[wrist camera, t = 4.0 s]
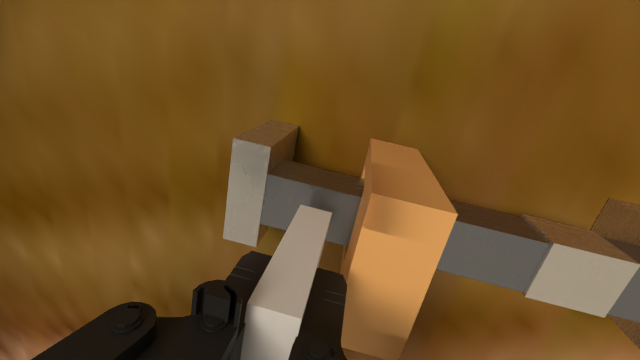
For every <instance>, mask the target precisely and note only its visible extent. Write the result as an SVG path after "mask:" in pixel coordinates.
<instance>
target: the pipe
mask: <svg viewBox="0 0 640 360" xmlns="http://www.w3.org/2000/svg"><path fill="white" fill-rule="evenodd" d="M298 129H299V126H297V125H292V124H288V123H284V122H280V121H275V120H270V121H268V122H266V123H264V124H262V125H260V126H258V127H256V128H254V129H251V130H249V131H247V132H245V133H243V134H241V135H239V136H237V137H235V138H233V145H232V155H231V165H230V175H229V184H228V194H227V204H226V214H225V223H224V233H223V239H227V240H231V241H235V242H238V243H242V244H246V245H250V246H253V247H256V246H257V245H258V243H259V242H260V240H261V239H262V237H263V236H264V234H265V233H266V231H267V230H268V228H269V227H270V226H271V227H275V228H278V229H282V230H286V231H287V229H288V227H289V225H290V223H291V222H292V220H293V218H294V216H295V214H296V212H297V211H298V209H299V207H300V205H304V206H308V207H312V208H316V209H320V210H324V211H327V212H331V213H332V215H331V219H330V223H329V228H328V232H327V236H326V240H325V241H328V242H332V243H336V244H340V245H344V246H347V247H348V245H349V242H350V238H351V234H352V231H353V227H354V223H355V220H356V216H357V212H358V209H359V205H360V201H361V198H362V194H363V191H364V179H362V178H358V177H354V176H350V175H346V174H342V173H338V172H334V171H329V170H325V169H321V168H317V167H313V166H309V165H305V164H301V163H296V162H293V157H294V152H295V146H296V141H297V135H298ZM449 201H450V202H451V204H452V205H453V207H454V209H455V210H456V212H457V214H458V215H457V218H456V220H455V223H454V225H453V228H452V230H451V233H450V235H449V238H448V240H447V243H446V245H445V247H444V250H443V252H442V255H441V257H440V260H439V262H438V265H437V267H436V270H440V271H444V272H447V273H451V274H455V275H459V276H463V277H467V278H470V279H474V280H478V281H482V282H486V283H490V284H493V285H497V286H501V287H505V288H509V289H513V290H517V291H520V292H522V294H523V295H524V297H527V298H531V299H535V300H539V301H543V302H547V303H550V304H554V305H558V306H562V307H566V308H569V309H573V310H577V311H581V312H585V313H589V314H592V315H596V316H600V317H604V318H605V316H606V315H607V316H608V317H609V318H610V319H611V320H612V321H613V322H614V323H615V324H616V325H617V326H618V327H619V328H620V329H621V330H622V331H623V333H624V334H625V335H626V336H627V337H628V338H629V339H630V340H631V341H632V342H633V343H634V344H635V345H636V346H637V347H638V348H639V349H640V205H636V204H631V203H627V202H623V201H618V200H614V199H610V198H609V200H608V201H607V203H606V205H605V206H604V208H603V210H602V211H601V213H600V215H599V217H598V218H597V220H596V222H595V223H594V225H593V227H592V228H591V230H587V229H583V228H579V227H574V226H570V225H566V224H562V223H558V222H554V221H550V220H545V219H541V218H537V217H533V216H529V215H525V214H522V216H521V217H519V216H515V215H511V214H507V213H503V212H499V211H494V210H490V209H486V208H482V207H478V206H474V205H470V204H466V203H461V202H457V201H453V200H449Z"/></svg>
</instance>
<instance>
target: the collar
mask: <svg viewBox="0 0 640 360" xmlns="http://www.w3.org/2000/svg"><path fill="white" fill-rule="evenodd" d="M361 178H362V179H364V191H363V194H362V198H361V201H360V205H359V209H358V212H357V216H356V220H355V223H354V227H353V231H352V234H351V238H350V242H349V245H348V247H347V246H344V248H343V254H342V261H341V267H340V274H342V275H343V276H344V278H345V281H346V283H347V293H346V301H345V310H344V319H343V327H342V336H341V347H342V348H346V349H349V350H353V351H356V352H360V353H363V354H367V355H370V356H374V357H377V358H381V359H384V360H399V359H400V356H401V354H402V351H403V349H404V346H405V344H406V341H407V339H408V336H409V334H410V331H411V329H412V327H413V324H414V322H415V319H416V317H417V314H418V312H419V309H420V307H421V304H422V302H423V299H424V297H425V294H426V292H427V289H428V287H429V285H430V282H431V280H432V277H433V275H434V272H435V270H436V267H437V265H438V262H439V260H440V257H441V255H442V252H443V250H444V247H445V245H446V243H447V240H448V238H449V235H450V233H451V230H452V228H453V225H454V223H455V220H456V218H457V215H458V214H457V212H456V210H455V209H454V207H453V205H452V204H451V202H450V201H449V199H448V197H447V196H446V194H445V193H444V191H443V189H442V188H441V186H440V184H439V183H438V181H437V180H436V178H435V176H434V175H433V173H432V172H431V170H430V168H429V167H428V165H427V163H426V162H425V160H424V159H423V157H422V155H421V154H420V152H419V151H418V149H415V148H411V147H407V146H402V145H398V144H394V143H389V142H385V141H381V140H376V139H372V138H371V140H370V144H369V148H368V152H367V155H366V159H365V163H364V167H363V170H362V174H361Z"/></svg>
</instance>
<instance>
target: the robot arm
mask: <svg viewBox="0 0 640 360" xmlns="http://www.w3.org/2000/svg"><path fill="white" fill-rule="evenodd" d="M331 215H332V213H331V212H327V211H324V210H320V209H316V208H312V207H308V206H304V205H300V207H299V209H298V211H297V212H296V214H295V216H294V218H293V220H292V222H291V223H290V225H289V227H288V229H287V231H286V233H285V234H284V236H283V238H282V240H281V242H280V244H279V246H278V247H277V249H276V251H275V253H274V255H273V256H269V255H265V254H262V253H258V252H255V251H251V252H250V253H248V254H246V255H245V256H243V257H242V258H241V259H240V260H239V262H238V263H237V265H236V267H235V268H234V269H233V270H232V272H231V273H230V275H229V276H228V277H227V279H226V280H225V281H223V280H213V281H208V282H205V283H203V284H200V285H199V286H198V287H196V288H195V289H194V290H193V298H192V312H191V315H190V316H186V317H157V316H156V311H155V309H154V308H153V307H152V306H151V305H148V304H145V303H142V302H129V303H125V304H120V305H118V306H116V307H114V308H112V309H110V310H108V311H106V312H105V313H103V314H102V315H100V316H99V317H97V318H95V319H94V320H92V321H91V322H89V323H88V324H86V325H84V326H83V327H81V328H80V329H78V330H77V331H75V332H73V333H72V334H70V335H69V336H67V337H66V338H64V339H62V340H61V341H59V342H58V343H56V344H55V345H53V346H52V347H50V348H48V349H47V350H45V351H44V352H42V353H41V354H39V355H37V356H36V357H34V358H33V359H31V360H347V359H346V357H345V355H344V353H343V351H342V347H341V336H342V327H343V319H344V310H345V301H346V293H347V283H346V281H345V278H344V276H343V275H342V274H338V273H335V272H331V271H327V270H324V269H320V268H319V264H320V260H321V256H322V252H323V248H324V244H325V240H326V236H327V232H328V228H329V223H330V219H331Z"/></svg>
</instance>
